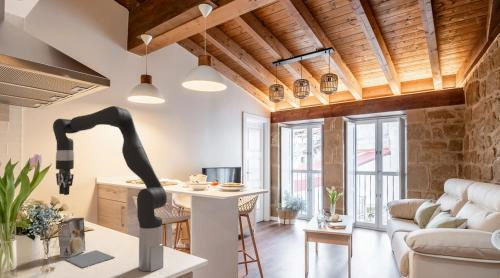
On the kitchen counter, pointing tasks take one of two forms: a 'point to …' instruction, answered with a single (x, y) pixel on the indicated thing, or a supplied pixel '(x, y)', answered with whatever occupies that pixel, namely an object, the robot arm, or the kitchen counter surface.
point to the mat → (89, 258)
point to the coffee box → (71, 237)
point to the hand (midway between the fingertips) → (64, 194)
